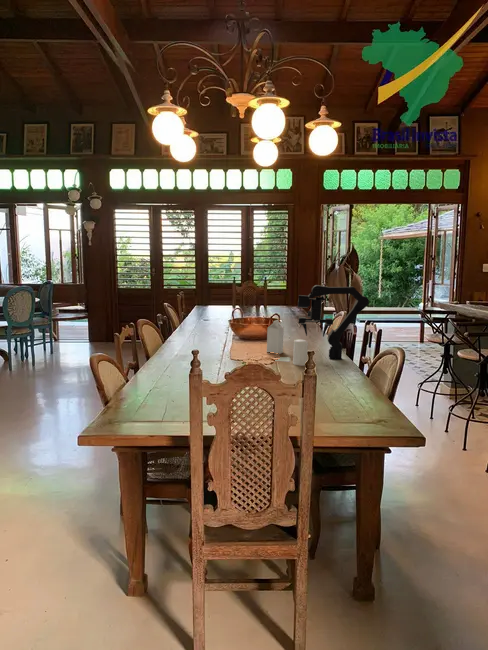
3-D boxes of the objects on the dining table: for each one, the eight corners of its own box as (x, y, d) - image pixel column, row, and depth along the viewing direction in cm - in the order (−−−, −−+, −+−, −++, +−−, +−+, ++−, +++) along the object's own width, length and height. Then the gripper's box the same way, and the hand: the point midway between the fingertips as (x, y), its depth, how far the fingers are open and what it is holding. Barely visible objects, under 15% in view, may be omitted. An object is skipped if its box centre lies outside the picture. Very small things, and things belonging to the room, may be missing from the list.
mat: (290, 358, 270) (290, 357, 270) (290, 362, 260) (290, 361, 260) (272, 357, 271) (272, 356, 271) (271, 361, 261) (271, 360, 261)
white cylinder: (299, 362, 261) (301, 339, 259) (309, 365, 255) (310, 341, 253) (290, 363, 257) (291, 340, 255) (299, 366, 251) (300, 342, 249)
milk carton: (266, 353, 280) (267, 320, 277) (271, 351, 287) (272, 319, 284) (277, 355, 277) (279, 321, 274) (282, 352, 283) (284, 320, 280)
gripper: (332, 307, 277) (330, 334, 279) (299, 305, 278) (297, 332, 281) (333, 309, 266) (332, 337, 268) (299, 308, 267) (297, 336, 270)
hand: (314, 336), depth 272 cm, fingers open, 9 cm apart
